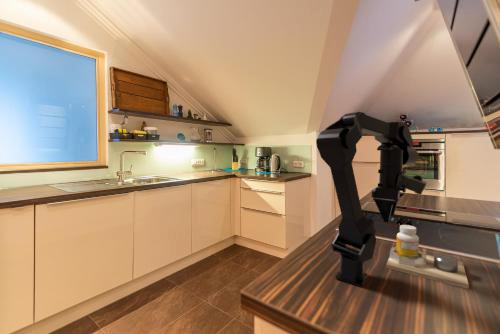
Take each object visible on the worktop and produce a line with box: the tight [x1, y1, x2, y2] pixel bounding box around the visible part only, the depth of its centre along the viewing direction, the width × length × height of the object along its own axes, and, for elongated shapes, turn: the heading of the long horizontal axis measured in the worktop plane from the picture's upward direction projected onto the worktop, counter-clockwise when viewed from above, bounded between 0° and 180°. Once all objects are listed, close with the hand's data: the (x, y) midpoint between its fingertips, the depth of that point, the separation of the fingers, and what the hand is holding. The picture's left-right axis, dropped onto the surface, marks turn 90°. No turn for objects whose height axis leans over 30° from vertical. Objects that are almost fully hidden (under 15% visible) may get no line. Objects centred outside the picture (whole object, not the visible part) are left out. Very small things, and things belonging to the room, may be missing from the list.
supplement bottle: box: [395, 224, 420, 258], centre depth 68 cm, size 5×5×10 cm
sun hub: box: [433, 252, 459, 273], centre depth 63 cm, size 5×5×3 cm
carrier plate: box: [385, 254, 470, 290], centre depth 66 cm, size 14×17×1 cm
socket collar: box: [389, 246, 427, 267], centre depth 69 cm, size 9×9×2 cm
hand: (389, 218), depth 70 cm, fingers open, 9 cm apart
